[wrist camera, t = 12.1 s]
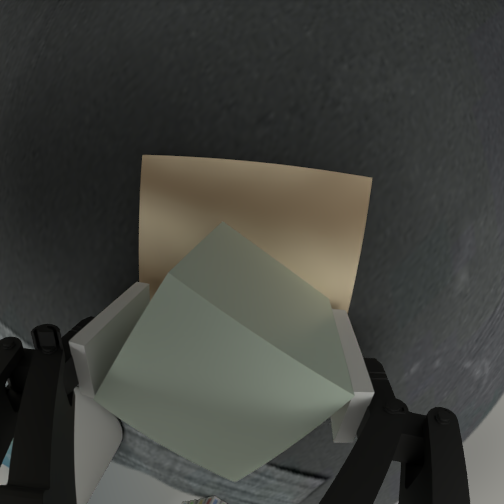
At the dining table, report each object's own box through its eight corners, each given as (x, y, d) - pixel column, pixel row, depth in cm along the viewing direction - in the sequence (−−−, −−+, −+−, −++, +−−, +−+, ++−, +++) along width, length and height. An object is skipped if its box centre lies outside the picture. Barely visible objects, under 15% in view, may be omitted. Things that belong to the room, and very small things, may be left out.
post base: (148, 154, 17) (84, 154, 11) (368, 177, 16) (413, 185, 10) (151, 387, 21) (117, 447, 15) (316, 413, 20) (320, 483, 14)
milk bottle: (108, 389, 22) (-21, 580, 3) (136, 450, 24) (54, 617, 5) (43, 375, 23) (-82, 514, 3) (73, 434, 25) (-17, 567, 5)
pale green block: (158, 315, 18) (93, 399, 11) (222, 221, 16) (168, 272, 9) (253, 378, 19) (234, 482, 11) (328, 298, 17) (354, 396, 9)
